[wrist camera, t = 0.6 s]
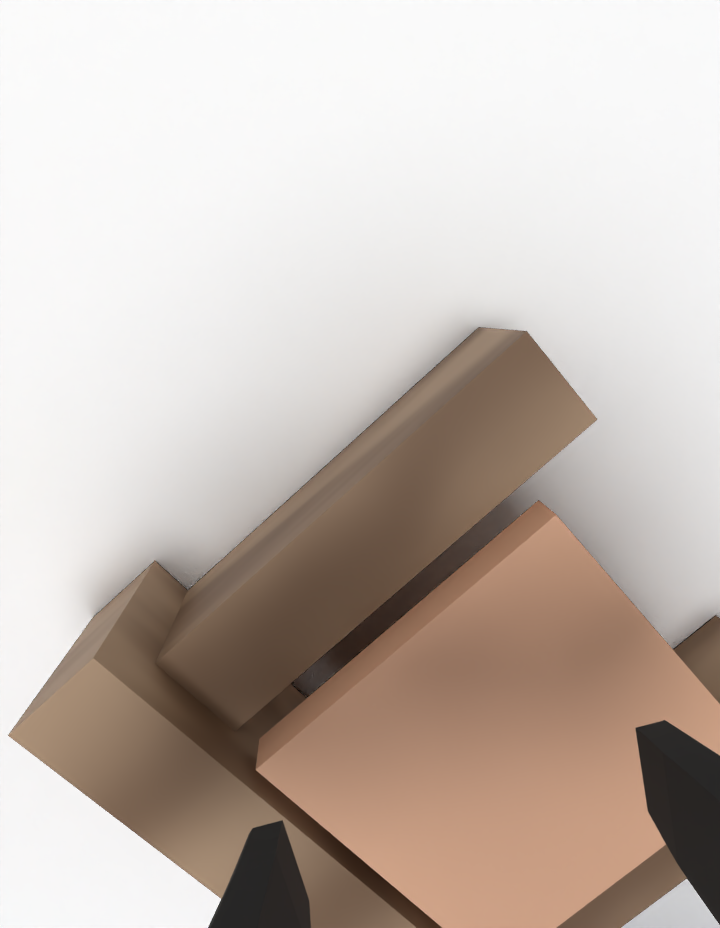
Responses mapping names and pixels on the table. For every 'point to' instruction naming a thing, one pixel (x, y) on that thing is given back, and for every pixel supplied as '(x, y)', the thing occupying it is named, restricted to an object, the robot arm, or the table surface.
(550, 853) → the trapdoor
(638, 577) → the table surface
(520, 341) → the frame
